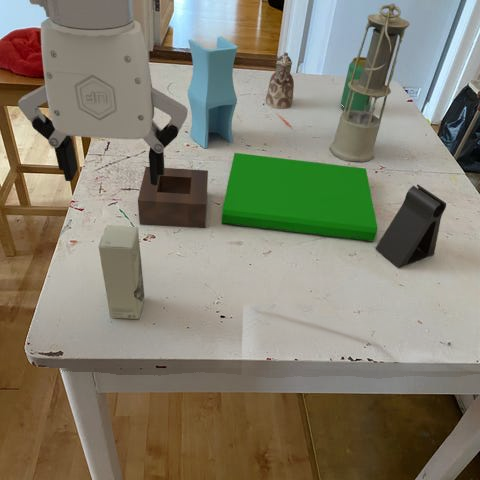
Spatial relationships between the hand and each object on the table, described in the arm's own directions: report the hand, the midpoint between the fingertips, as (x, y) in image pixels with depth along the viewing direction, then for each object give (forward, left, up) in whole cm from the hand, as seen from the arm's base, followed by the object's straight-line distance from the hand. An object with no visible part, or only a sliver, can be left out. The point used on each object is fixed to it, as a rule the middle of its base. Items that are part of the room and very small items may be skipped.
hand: (113, 177), depth 55 cm
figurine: (+29, +81, -21) cm, 88 cm away
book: (+29, +32, -21) cm, 48 cm away
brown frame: (+5, +27, -21) cm, 35 cm away
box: (0, 0, -21) cm, 21 cm away
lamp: (+44, +54, -21) cm, 73 cm away
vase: (+11, +57, -21) cm, 62 cm away
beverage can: (+50, +81, -21) cm, 97 cm away
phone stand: (+47, +17, -21) cm, 54 cm away
